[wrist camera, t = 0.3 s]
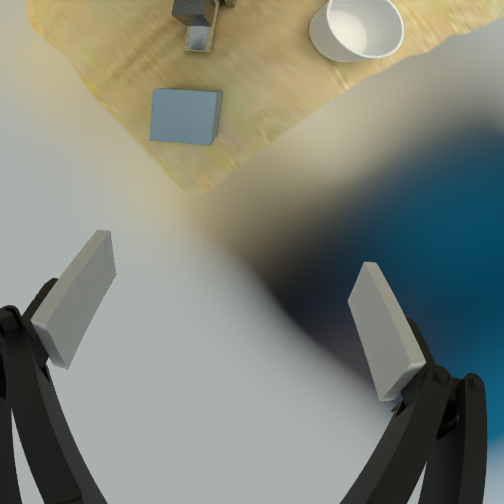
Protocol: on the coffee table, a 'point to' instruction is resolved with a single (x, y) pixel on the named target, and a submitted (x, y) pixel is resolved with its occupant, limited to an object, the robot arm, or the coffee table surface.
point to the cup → (356, 30)
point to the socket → (185, 116)
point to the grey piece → (197, 22)
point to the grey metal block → (230, 3)
